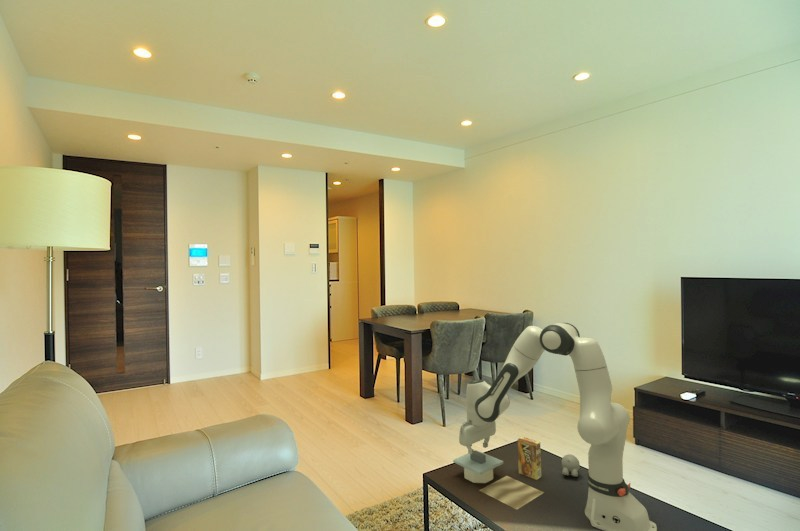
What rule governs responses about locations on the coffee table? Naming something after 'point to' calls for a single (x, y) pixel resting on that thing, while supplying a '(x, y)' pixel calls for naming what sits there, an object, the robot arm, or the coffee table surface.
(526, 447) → the candy box
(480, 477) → the bowl
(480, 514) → the coffee table surface
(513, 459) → the coffee table surface
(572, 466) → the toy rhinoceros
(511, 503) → the tan square mat
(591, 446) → the robot arm
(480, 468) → the lid
